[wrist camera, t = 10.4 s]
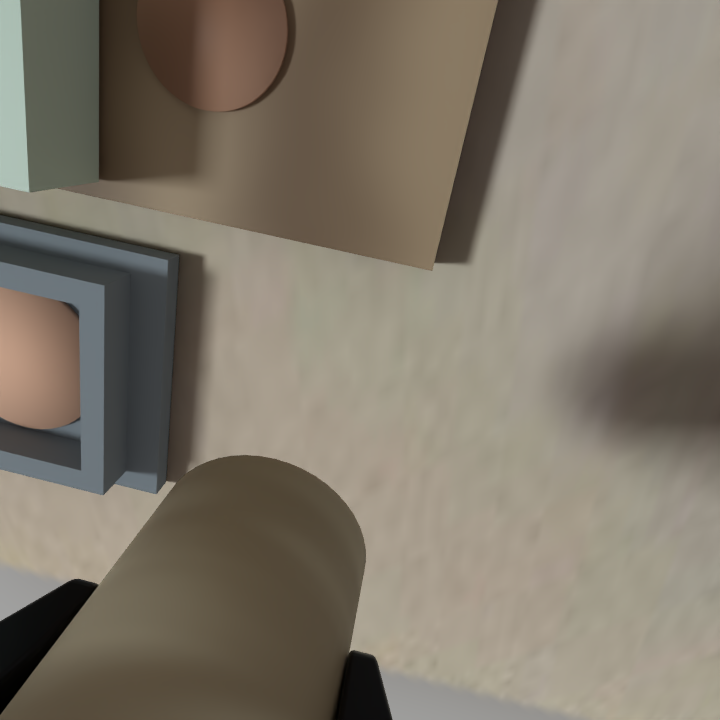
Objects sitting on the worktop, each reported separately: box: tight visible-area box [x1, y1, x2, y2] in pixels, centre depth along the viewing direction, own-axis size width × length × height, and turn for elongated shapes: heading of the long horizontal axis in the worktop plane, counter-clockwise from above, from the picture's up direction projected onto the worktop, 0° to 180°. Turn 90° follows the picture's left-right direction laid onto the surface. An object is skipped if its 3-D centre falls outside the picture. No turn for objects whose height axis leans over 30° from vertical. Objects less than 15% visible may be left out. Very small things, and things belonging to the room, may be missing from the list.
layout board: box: [58, 0, 498, 271], centre depth 15 cm, size 20×10×1 cm, turn 79°
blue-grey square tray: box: [0, 215, 179, 495], centre depth 19 cm, size 10×9×2 cm
